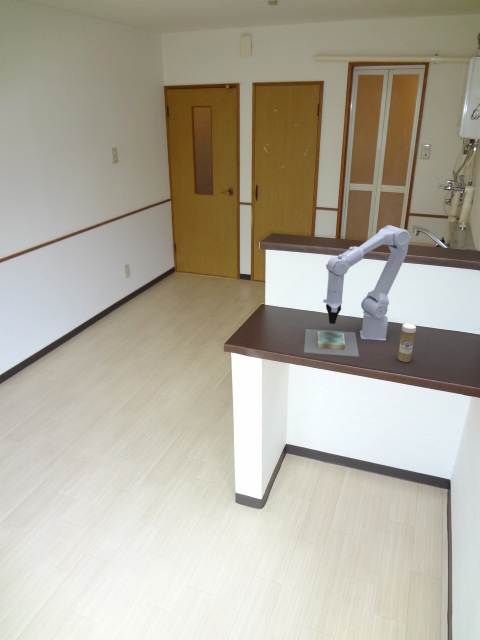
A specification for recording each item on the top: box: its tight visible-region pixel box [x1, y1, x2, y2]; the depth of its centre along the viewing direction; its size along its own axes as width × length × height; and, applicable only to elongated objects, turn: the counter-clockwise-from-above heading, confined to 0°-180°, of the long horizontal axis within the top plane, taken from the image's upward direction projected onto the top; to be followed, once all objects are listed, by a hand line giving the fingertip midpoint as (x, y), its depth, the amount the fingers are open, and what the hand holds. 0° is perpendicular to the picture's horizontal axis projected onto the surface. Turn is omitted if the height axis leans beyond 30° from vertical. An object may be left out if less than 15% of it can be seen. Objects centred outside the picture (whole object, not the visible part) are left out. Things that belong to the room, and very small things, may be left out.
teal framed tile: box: [318, 331, 345, 350], centre depth 177 cm, size 10×2×11 cm
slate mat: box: [303, 328, 360, 358], centre depth 178 cm, size 20×22×1 cm
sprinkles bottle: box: [397, 323, 417, 363], centre depth 163 cm, size 5×5×13 cm
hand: (332, 323), depth 176 cm, fingers closed
